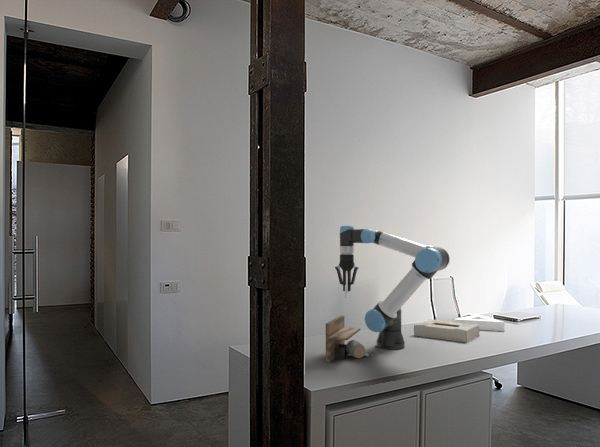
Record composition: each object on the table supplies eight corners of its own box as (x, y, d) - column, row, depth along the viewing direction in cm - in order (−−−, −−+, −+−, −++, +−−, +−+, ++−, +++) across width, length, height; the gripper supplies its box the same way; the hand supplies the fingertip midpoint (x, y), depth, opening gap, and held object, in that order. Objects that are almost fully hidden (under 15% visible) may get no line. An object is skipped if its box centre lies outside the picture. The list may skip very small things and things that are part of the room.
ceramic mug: (352, 359, 232) (353, 343, 232) (345, 355, 240) (345, 340, 240) (372, 358, 236) (372, 342, 236) (364, 354, 243) (364, 339, 244)
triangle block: (454, 329, 310) (454, 319, 310) (455, 322, 334) (455, 313, 334) (504, 332, 300) (504, 322, 300) (501, 324, 324) (501, 315, 324)
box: (413, 336, 288) (467, 343, 269) (413, 323, 288) (467, 329, 269) (428, 330, 306) (479, 336, 287) (428, 318, 307) (479, 323, 288)
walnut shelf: (360, 351, 249) (360, 316, 249) (347, 364, 224) (347, 325, 225) (340, 349, 252) (340, 315, 253) (325, 362, 228) (325, 323, 228)
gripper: (333, 254, 260) (333, 297, 260) (356, 254, 256) (357, 298, 255) (337, 253, 267) (337, 296, 267) (360, 253, 263) (360, 297, 262)
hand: (346, 297), depth 261 cm, fingers closed
